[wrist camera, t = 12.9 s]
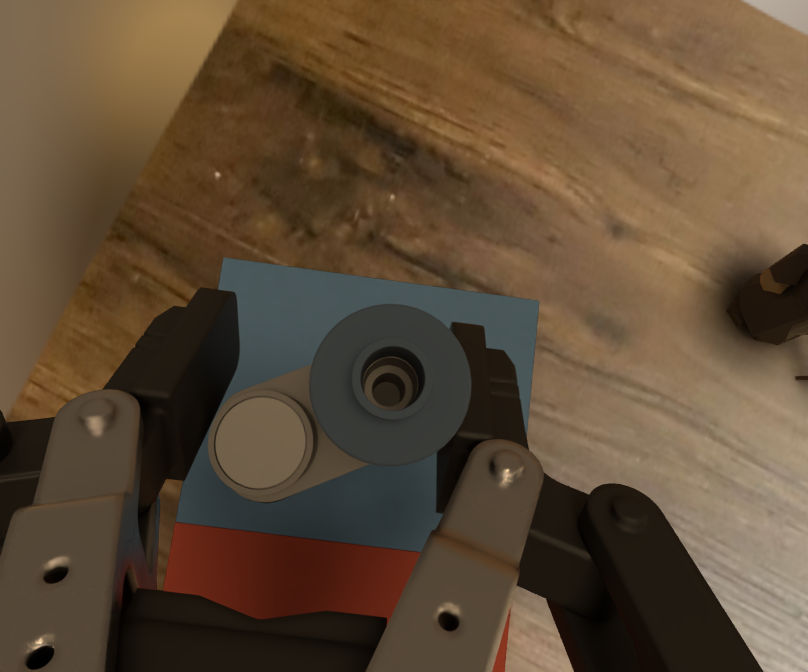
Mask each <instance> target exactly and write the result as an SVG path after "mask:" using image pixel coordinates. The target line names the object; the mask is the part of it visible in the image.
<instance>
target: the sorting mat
mask: <svg viewBox="0 0 808 672" xmlns="http://www.w3.org/2000/svg"><path fill="white" fill-rule="evenodd" d="M218 290H224V291H232V292H235V294H236V297H237V306H238V322H239V337H240V355H239V361H238V366H237V369H236V372H235V374H234V376H233V378H232V381H231V383H230V385H229V387H228V389H227V391H226V393H225V396H224V398H223V400H222V402H221V404H220V406H219V408H218V411H217V413H218V412H219V410H220V408H221V407H222V405H223V404H224V403H225V402H226V401H227V400H228V399H229V398H230V397H231V396H233V395H234V394H235V393H237V392H240V391H242V390H244V389H246V388H249V387H252V386H254V385H257V384H260V383H262V382H265V381H268V380H270V379H273V378H276V377H278V376H281V375H284V374H286V373H289V372H292V371H294V370H297V369H300V368H302V367H305V366H308V365H310V364H312V363H313V359H314V356H315V354H316V352H317V350H318V348H319V345H320V344H321V342H322V341H323V339H324V338H325V336H326V335H327V334H328V332H329V331H330V330H331V329H332V328H333V327H334V326H335V325H336V324H337V323H338V322H340V321H341V320H343V319H344V318H346V317H347V316H348V315H350V314H352V313H354V312H356V311H358V310H361V309H363V308H367V307H370V306H374V305H381V304H401V305H407V306H411V307H414V308H418V309H420V310H422V311H425V312H427V313H429V314H431V315H432V316H434V317H435V318H437V319H438V320H440V321H441V322H442V323H443V324H444V325H445V326H446V327H447V328H449V329H450V326H451V323H452V322H460V323H468V324H475V325H483V326H484V329H485V339H486V348H492V349H499V350H504V351H505V353H506V354H507V355H508V357H509V358H510V359H511V361H512V362H513V364H514V365H515V369H516V375H517V381H518V383H517V385H518V387H519V393H520V397H519V399H520V400H521V406H522V412H523V418H524V425H525V431H526V437H527V427H528V417H529V406H530V396H531V385H532V374H533V364H534V353H535V342H536V332H537V321H538V311H539V301H537V300H530V299H523V298H516V297H508V296H501V295H494V294H486V293H479V292H472V291H464V290H457V289H450V288H443V287H435V286H428V285H421V284H413V283H406V282H399V281H391V280H384V279H377V278H370V277H362V276H355V275H348V274H340V273H333V272H326V271H318V270H311V269H304V268H297V267H289V266H282V265H275V264H267V263H260V262H253V261H245V260H238V259H231V258H224V259H223V264H222V269H221V275H220V280H219V286H218ZM217 413H216V415H217ZM216 415H215V417H216ZM215 417H214V419H215ZM214 419H213V421H214ZM213 421H212V423H213ZM212 423H211V425H212ZM210 428H211V426H210ZM210 428H209V430H208V432H207V434H206V436H205V438H204V441H203V443H202V445H201V447H200V449H199V451H198V453H197V456H196V458H195V460H194V462H193V464H192V466H191V468H190V471H189V473H188V475H187V477H186V479H185V481H183V483H182V489H181V494H180V500H179V505H178V511H177V516H176V523H175V527H174V532H173V538H172V543H171V549H170V554H169V560H168V565H167V571H166V576H165V582H164V587H163V591H168V592H177V593H185V594H194V595H200V596H202V597H205V598H207V599H210V600H212V601H214V602H217V603H219V604H222V605H224V606H226V607H229V608H231V609H234V610H236V611H238V612H241V613H243V614H246V615H248V616H250V617H253V618H256V619H268V618H275V617H282V616H289V615H297V614H304V613H311V612H318V611H325V610H327V611H336V612H344V613H353V614H361V615H369V616H378V617H386V618H387V625H388V623H389V620H390V618H391V616H392V614H393V612H394V610H395V607H396V605H397V603H398V601H399V599H400V597H401V594H402V592H403V590H404V588H405V586H406V584H407V581H408V579H409V577H410V575H411V573H412V571H413V568H414V566H415V564H416V562H417V560H418V558H419V555H420V553H421V551H422V549H423V547H424V545H425V543H426V540H427V538H428V536H429V535H430V533H431V531H432V530H436V528H437V526H438V524H439V522H440V520H441V517H442V515H443V514H440V513H436V475H437V452H436V453H434V454H433V455H431V456H429V457H427V458H425V459H423V460H421V461H418V462H415V463H411V464H408V465H401V466H378V465H374V464H369V465H366V466H364V467H361V468H359V469H356V470H354V471H351V472H349V473H346V474H344V475H341V476H339V477H336V478H334V479H331V480H329V481H326V482H324V483H321V484H319V485H316V486H314V487H311V488H309V489H306V490H304V491H302V492H299V493H297V494H295V495H293V496H291V497H288V498H286V499H284V500H281V501H277V502H273V503H268V504H266V503H260V502H254V501H250V500H248V499H246V498H244V497H242V496H241V495H239V494H237V493H235V492H234V491H233V490H232V489H231V488H230V487H229V486H227V485H226V484H225V483H224V482H223V481H222V480H221V479H220V478H219V477H218V475H217V474H216V472H215V471H214V469H213V467H212V464H211V462H210V458H209V454H208V436H209V432H210ZM510 608H511V606H510ZM509 619H510V610H509V613H508V617H507V621H506V624H505V628H504V631H503V635H502V638H501V642H500V645H499V649H498V652H497V656H496V659H495V663H494V666H493V670H492V672H505V661H506V650H507V640H508V629H509Z"/></svg>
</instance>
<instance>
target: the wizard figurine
mask: <svg viewBox="0 0 808 672" xmlns="http://www.w3.org/2000/svg"><path fill="white" fill-rule="evenodd" d="M727 312H728V313H729V315H730V317H731V318H732V320H733V321H734V323H735V324H736V326H739V325H741V324H743V323H744V322H746V324H747V326H748V328H749V330H750V332H751V334H752V336H755V339H756V340H760V341H764V342H768V343H773V344H775V345H779V344H781V343H784V342H786V341H789V340H791V339H794V338H796V337H799V336H801V335H808V245H807V244H802V245H801V246H799V247H798V248H797V249H795V250H794V251H792V252H791V253H789V254H788V255H786V256H785V257H784V258H782V259H781V260H779V261H778V262H776V263H775V264H774V265H772V266H771V267H769V268H768V269H767V270H765V271H764V272H763V273H761V274H757V275H755V276H754V277H753V278H752V279H751V280H750V281H749V282H748V283H747V284H746V285H744V286H743V287H742V288H741V296H740V297H739V298H737V299H735V301H734V302H733V303H732V304H731V306H730V307H729V308H728V310H727ZM796 380H808V376H796Z"/></svg>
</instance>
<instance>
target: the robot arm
mask: <svg viewBox="0 0 808 672" xmlns="http://www.w3.org/2000/svg"><path fill="white" fill-rule="evenodd" d="M450 330H451V331H452V333H453V334H454V336H455V337H456V338H457V340H458V341H459V342H460V344H461V346H462V348H463V350H464V352H465V354H466V357H467V360H468V364H469V367H470V373H471V381H472V384H471V398H470V402H469V407H468V411H467V413H466V415H465V418H464V420H463V423H462V424H461V426H460V427H459V429H458V430H457V432H456V434H455V435H454V436H453V437H452V438H451V439H450V440H449V442H448V443H447V444H446V445H445V446H444V447H442V448H441V449H440V450H438V451H437V475H436V513H440V514H443V515H442V517H441V520H440V522H439V524H438V526H437V528H436V530H432V531H431V533H430V535H429V536H428V538H427V540H426V543H425V545H424V547H423V549H422V551H421V553H420V555H419V558H418V560H417V562H416V564H415V566H414V568H413V571H412V573H411V575H410V577H409V579H408V581H407V584H406V586H405V588H404V590H403V592H402V594H401V597H400V599H399V601H398V603H397V605H396V607H395V610H394V612H393V614H392V616H391V618H390V620H389V623H388V625H387V618H386V617H378V616H369V615H361V614H353V613H344V612H336V611H327V610H325V611H318V612H311V613H304V614H297V615H289V616H282V617H275V618H268V619H256V618H253V617H250V616H248V615H246V614H243V613H241V612H238V611H236V610H234V609H231V608H229V607H226V606H224V605H222V604H219V603H217V602H214V601H212V600H210V599H207V598H205V597H202V596H200V595H194V594H185V593H177V592H168V591H160V590H157V561H158V539H159V518H160V499H159V492H160V490H161V488H162V486H163V484H164V482H165V480H166V479H174V480H183V481H185V479H186V477H187V475H188V473H189V471H190V468H191V466H192V464H193V462H194V460H195V458H196V456H197V453H198V451H199V449H200V447H201V445H202V443H203V441H204V438H205V436H206V434H207V432H208V430H209V428H210V426H211V423H212V421H213V419H214V417H215V415H216V413H217V411H218V408H219V406H220V404H221V402H222V400H223V398H224V396H225V393H226V391H227V389H228V387H229V385H230V383H231V381H232V378H233V376H234V374H235V372H236V369H237V366H238V361H239V355H240V337H239V322H238V306H237V297H236V294H235V292H232V291H224V290H217V289H209V288H199V289H198V291H197V292H196V293H195V295H194V296H193V298H192V299H191V301H190V302H189V304H188V305H187V307H179V306H173V307H172V308H170V309H168V310H167V311H165V312H164V313H162V314H160V315H159V316H157V317H156V318H155V319H154V320H153V322H152V323H151V324H150V326H149V327H148V328H147V330H146V331H145V332H144V336H143V335H142V336H141V338H140V339H139V341H138V342H137V343H136V346H135V348H133V349H132V350H131V351H130V353H129V354H128V355H127V357H126V358H125V360H124V361H123V362H122V364H121V365H120V366H119V368H118V369H117V370H116V372H115V373H114V374H113V376H112V377H111V379H110V380H109V381H108V383H107V384H106V385H105V387H104V388H103V389H102V390H97V391H92V392H88V393H85V394H83V395H80V396H78V397H76V398H74V399H72V400H71V401H69V402H68V403H66V404H65V405H64V406H63V407H62V408H61V409H60V410H59V411H58V413H57V415H56V417H51V418H44V419H35V420H26V421H16V422H7V423H6V421H5V418H4V416H3V413H2V412H1V410H0V672H492V670H493V666H494V663H495V659H496V656H497V652H498V649H499V645H500V642H501V638H502V635H503V631H504V628H505V624H506V621H507V617H508V613H509V610H510V606H511V603H512V599H513V596H514V592H515V589H516V585H517V586H519V587H522V588H524V589H526V590H528V591H530V592H533V593H535V594H537V595H539V596H541V597H544V598H546V600H547V603H548V606H549V608H550V611H551V614H552V616H553V619H554V621H555V624H556V626H557V629H558V632H559V634H560V637H561V639H562V642H563V644H564V647H565V650H566V652H567V655H568V657H569V660H570V662H571V665H572V668H573V670H574V672H763V670H762V669H761V667H760V665H759V664H758V662H757V661H756V659H755V658H754V656H753V654H752V653H751V651H750V650H749V648H748V647H747V645H746V643H745V642H744V640H743V639H742V637H741V635H740V634H739V632H738V631H737V629H736V628H735V626H734V624H733V623H732V621H731V620H730V618H729V617H728V615H727V613H726V612H725V610H724V609H723V607H722V606H721V604H720V602H719V601H718V599H717V598H716V596H715V595H714V593H713V591H712V590H711V588H710V587H709V585H708V584H707V582H706V580H705V579H704V577H703V576H702V574H701V573H700V571H699V569H698V568H697V566H696V565H695V563H694V561H693V560H692V558H691V557H690V555H689V554H688V552H687V550H686V549H685V547H684V546H683V544H682V543H681V541H680V539H679V538H678V536H677V535H676V533H675V532H674V530H673V528H672V527H671V525H670V524H669V522H668V521H667V519H666V517H665V516H664V514H663V513H662V511H661V510H660V509H659V507H658V506H657V505H656V504H655V503H654V502H653V501H652V500H651V499H650V498H649V497H647V496H646V495H644V494H643V493H641V492H640V491H638V490H636V489H634V488H631V487H629V486H625V485H622V484H603V485H600V486H598V487H596V488H595V489H594V490H593V491H592V492H591V493H590V495H589V494H586V493H584V492H581V491H579V490H576V489H574V488H571V487H569V486H566V485H564V484H562V483H559V482H557V481H556V480H554V479H552V478H551V477H549V476H548V475H547V474H545V473H544V472H543V469H542V466H541V464H540V462H539V460H538V459H537V458H536V456H535V455H534V454H533V453H532V452H530V451H529V449H528V443H527V437H526V431H525V425H524V418H523V412H522V406H521V400H520V399H519V397H520V393H519V387H518V385H517V383H518V381H517V375H516V369H515V365H514V364H513V362H512V361H511V359H510V358H509V357H508V355H507V354H506V353H505V351H504V350H499V349H492V348H486V339H485V329H484V326H483V325H475V324H468V323H460V322H452V323H451V326H450Z"/></svg>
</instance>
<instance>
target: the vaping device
mask: <svg viewBox="0 0 808 672" xmlns="http://www.w3.org/2000/svg"><path fill="white" fill-rule="evenodd" d="M471 384H472V381H471V373H470V367H469V364H468V360H467V357H466V354H465V352H464V350H463V348H462V346H461V344H460V342H459V341H458V340H457V338H456V337H455V336H454V334H453V333H452V331H451V330H450V329H449V328H447V327H446V326H445V325H444V324H443V323H442V322H441V321H440V320H438V319H437V318H435V317H434V316H432V315H431V314H429V313H427V312H425V311H422V310H420V309H418V308H414V307H411V306H407V305H401V304H381V305H374V306H370V307H367V308H363V309H361V310H358V311H356V312H354V313H352V314H350V315H348V316H347V317H346V318H344V319H343V320H341V321H340V322H338V323H337V324H336V325H335V326H334V327H333V328H332V329H331V330H330V331H329V332H328V334H327V335H326V336H325V338H324V339H323V341H322V342H321V344H320V345H319V348H318V350H317V352H316V354H315V356H314V359H313V363H312V364H310V365H308V366H305V367H302V368H300V369H297V370H294V371H292V372H289V373H286V374H284V375H281V376H278V377H276V378H273V379H270V380H268V381H265V382H262V383H260V384H257V385H254V386H252V387H249V388H246V389H244V390H242V391H240V392H237V393H235V394H234V395H233V396H231V397H230V398H229V399H228V400H227V401H226V402H225V403H224V404H223V405H222V407H221V408H220V410H219V412H218V413H217V415H216V417H215V419H214V421H213V423H212V425H211V428H210V432H209V436H208V454H209V458H210V462H211V464H212V467H213V469H214V471H215V472H216V474H217V475H218V477H219V478H220V479H221V480H222V481H223V482H224V483H225V484H226V485H227V486H229V487H230V488H231V489H232V490H233V491H234V492H235V493H237V494H239V495H241V496H242V497H244V498H246V499H248V500H250V501H254V502H260V503H266V504H268V503H273V502H277V501H281V500H284V499H286V498H288V497H291V496H293V495H295V494H297V493H299V492H302V491H304V490H306V489H309V488H311V487H314V486H316V485H319V484H321V483H324V482H326V481H329V480H331V479H334V478H336V477H339V476H341V475H344V474H346V473H349V472H351V471H354V470H356V469H359V468H361V467H364V466H366V465H369V464H374V465H378V466H401V465H408V464H411V463H415V462H418V461H421V460H423V459H425V458H427V457H429V456H431V455H433V454H434V453H436V452H437V451H438V450H440V449H441V448H442V447H444V446H445V445H446V444H447V443H448V442H449V440H450V439H451V438H452V437H453V436H454V435H455V434H456V432H457V430H458V429H459V427H460V426H461V424H462V423H463V420H464V418H465V415H466V413H467V411H468V407H469V402H470V398H471Z"/></svg>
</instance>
